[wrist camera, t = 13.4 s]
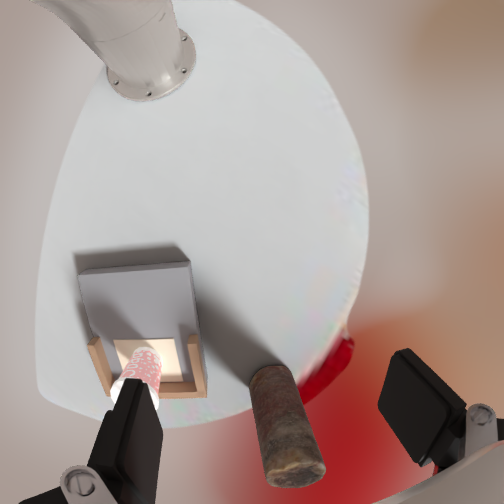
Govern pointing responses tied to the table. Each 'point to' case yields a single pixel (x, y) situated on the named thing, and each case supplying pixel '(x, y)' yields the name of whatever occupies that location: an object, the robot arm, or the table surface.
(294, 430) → the brown rough cylinder
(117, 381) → the beverage cup
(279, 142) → the table surface
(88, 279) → the dock
